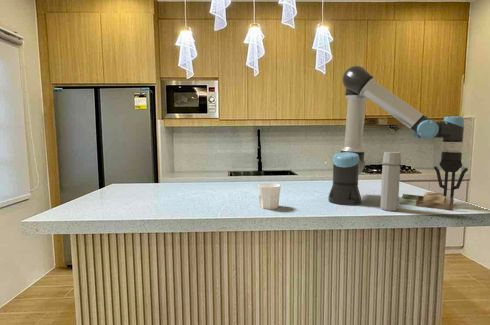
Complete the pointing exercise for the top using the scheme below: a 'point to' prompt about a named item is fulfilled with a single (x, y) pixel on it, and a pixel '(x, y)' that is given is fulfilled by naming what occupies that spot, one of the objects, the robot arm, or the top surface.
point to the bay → (424, 202)
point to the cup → (269, 195)
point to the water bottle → (390, 181)
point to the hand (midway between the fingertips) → (447, 203)
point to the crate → (434, 197)
